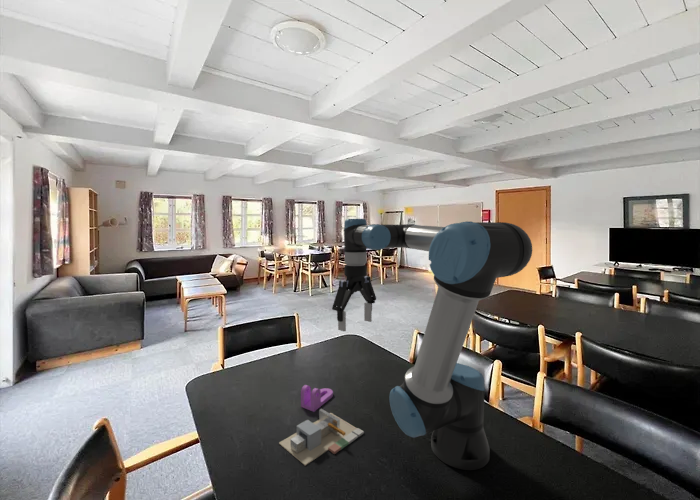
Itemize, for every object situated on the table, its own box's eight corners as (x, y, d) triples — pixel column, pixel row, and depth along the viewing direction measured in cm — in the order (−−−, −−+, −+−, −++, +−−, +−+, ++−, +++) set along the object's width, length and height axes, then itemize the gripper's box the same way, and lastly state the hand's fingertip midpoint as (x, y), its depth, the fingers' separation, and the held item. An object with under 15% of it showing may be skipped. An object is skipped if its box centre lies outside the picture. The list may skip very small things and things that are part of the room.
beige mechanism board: (363, 433, 95) (363, 417, 94) (311, 470, 80) (310, 452, 80) (330, 413, 105) (330, 399, 104) (278, 443, 90) (278, 427, 90)
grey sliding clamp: (349, 440, 91) (349, 425, 90) (312, 466, 81) (312, 449, 81) (321, 422, 99) (321, 408, 99) (285, 444, 89) (285, 428, 89)
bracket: (314, 412, 106) (313, 392, 105) (301, 407, 108) (300, 387, 108) (335, 394, 117) (335, 376, 116) (323, 390, 120) (323, 372, 119)
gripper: (369, 260, 120) (369, 315, 121) (320, 267, 101) (321, 332, 103) (386, 261, 115) (385, 319, 116) (337, 269, 96) (338, 337, 98)
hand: (355, 325), depth 110 cm, fingers open, 13 cm apart
